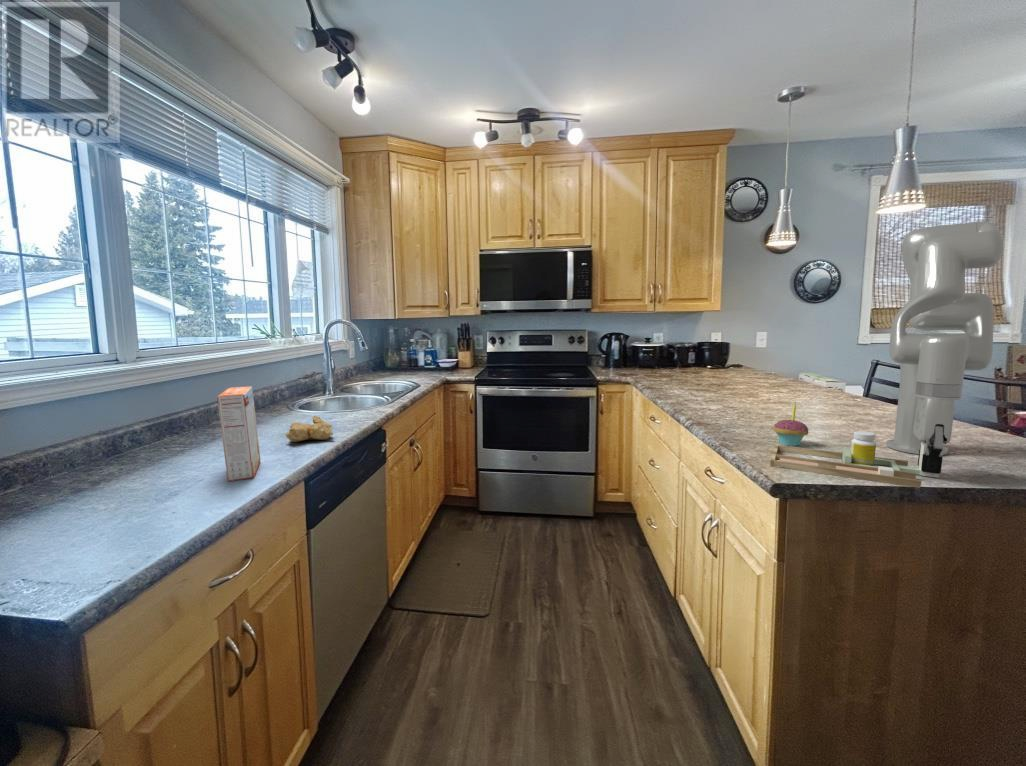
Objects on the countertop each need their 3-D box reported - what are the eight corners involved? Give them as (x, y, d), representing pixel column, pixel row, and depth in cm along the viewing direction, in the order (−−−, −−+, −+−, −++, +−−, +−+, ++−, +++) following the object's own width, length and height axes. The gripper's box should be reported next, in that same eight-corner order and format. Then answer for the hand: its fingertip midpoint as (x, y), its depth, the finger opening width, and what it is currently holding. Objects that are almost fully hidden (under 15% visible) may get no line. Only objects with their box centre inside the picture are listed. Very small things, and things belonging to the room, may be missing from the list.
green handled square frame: (842, 458, 114) (844, 432, 113) (932, 470, 105) (936, 441, 104) (844, 468, 107) (846, 439, 106) (941, 481, 98) (945, 450, 97)
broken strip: (779, 461, 113) (780, 452, 113) (890, 477, 101) (891, 466, 101) (778, 466, 110) (779, 456, 109) (893, 482, 98) (894, 472, 98)
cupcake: (778, 438, 135) (781, 399, 133) (811, 444, 128) (814, 403, 127) (768, 444, 129) (771, 403, 127) (802, 450, 123) (805, 407, 121)
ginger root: (328, 441, 135) (320, 416, 134) (277, 455, 135) (269, 430, 134) (345, 430, 150) (338, 408, 149) (300, 443, 150) (293, 420, 149)
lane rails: (774, 449, 123) (775, 444, 123) (907, 466, 108) (907, 460, 108) (770, 466, 110) (770, 460, 110) (920, 487, 95) (921, 481, 94)
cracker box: (235, 465, 117) (227, 387, 115) (261, 462, 120) (253, 385, 117) (225, 482, 105) (215, 395, 102) (254, 478, 107) (245, 393, 104)
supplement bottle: (878, 470, 106) (881, 435, 105) (855, 469, 107) (858, 435, 106) (866, 463, 110) (869, 430, 109) (845, 462, 111) (848, 430, 110)
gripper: (909, 385, 108) (901, 458, 111) (923, 394, 95) (913, 477, 97) (951, 387, 104) (942, 462, 106) (972, 397, 90) (961, 484, 93)
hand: (928, 469), depth 102 cm, fingers closed on green handled square frame, 3 cm apart
